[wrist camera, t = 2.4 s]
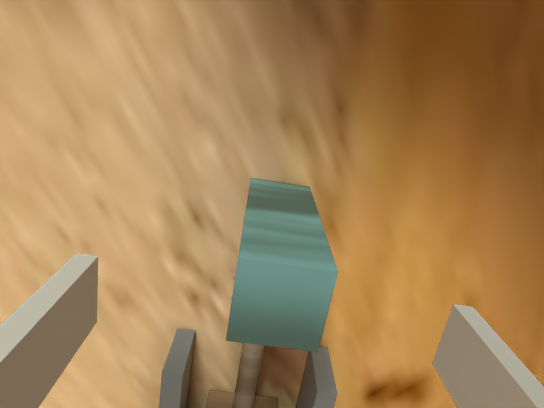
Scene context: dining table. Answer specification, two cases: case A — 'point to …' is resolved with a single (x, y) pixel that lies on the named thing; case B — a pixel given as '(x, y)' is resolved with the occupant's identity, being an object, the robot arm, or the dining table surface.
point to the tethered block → (277, 284)
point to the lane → (176, 372)
